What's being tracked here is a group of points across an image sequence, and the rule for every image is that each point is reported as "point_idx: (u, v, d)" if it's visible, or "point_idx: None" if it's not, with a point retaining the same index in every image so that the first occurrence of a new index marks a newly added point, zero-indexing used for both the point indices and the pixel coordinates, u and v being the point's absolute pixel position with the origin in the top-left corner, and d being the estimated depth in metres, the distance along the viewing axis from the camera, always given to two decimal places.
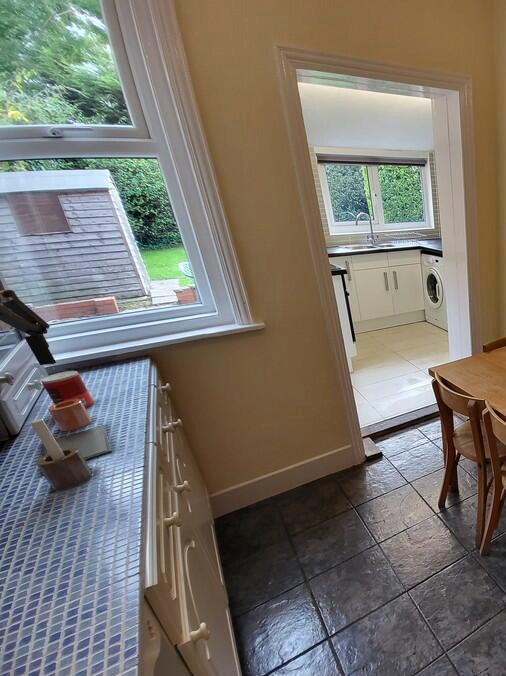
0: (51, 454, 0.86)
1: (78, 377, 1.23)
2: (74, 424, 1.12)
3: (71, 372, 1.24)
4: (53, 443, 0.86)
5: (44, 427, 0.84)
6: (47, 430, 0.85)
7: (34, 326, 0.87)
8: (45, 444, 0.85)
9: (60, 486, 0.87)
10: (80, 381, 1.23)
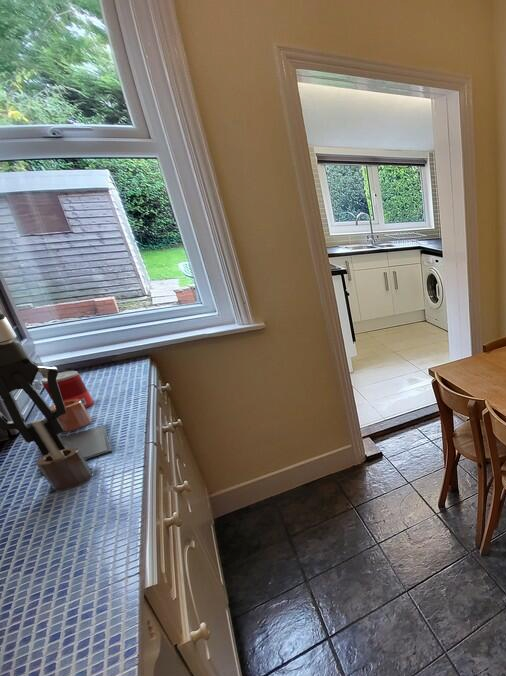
0: (51, 454, 0.86)
1: (78, 377, 1.23)
2: (74, 424, 1.12)
3: (71, 372, 1.24)
4: (53, 443, 0.86)
5: (44, 427, 0.84)
6: (47, 430, 0.85)
7: (48, 411, 0.84)
8: (45, 444, 0.85)
9: (60, 486, 0.87)
10: (80, 381, 1.23)
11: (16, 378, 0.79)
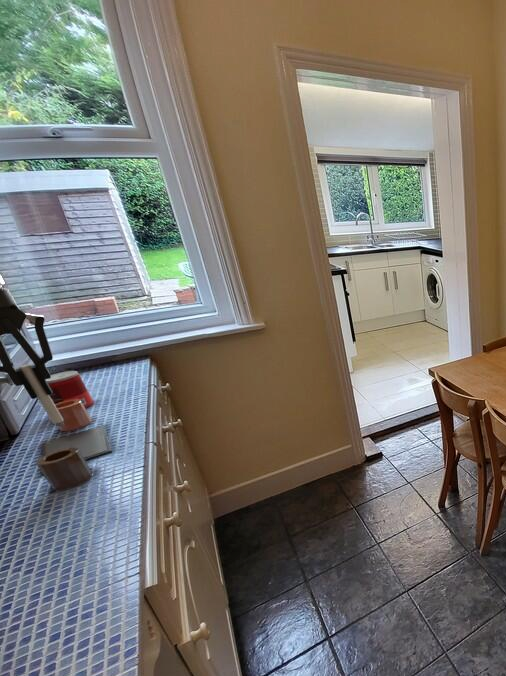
0: (39, 398, 0.91)
1: (78, 377, 1.23)
2: (74, 424, 1.12)
3: (71, 372, 1.24)
4: (41, 388, 0.91)
5: (32, 372, 0.90)
6: (35, 375, 0.90)
7: (35, 357, 0.89)
8: (33, 388, 0.90)
9: (60, 486, 0.87)
10: (80, 381, 1.23)
11: (5, 323, 0.84)
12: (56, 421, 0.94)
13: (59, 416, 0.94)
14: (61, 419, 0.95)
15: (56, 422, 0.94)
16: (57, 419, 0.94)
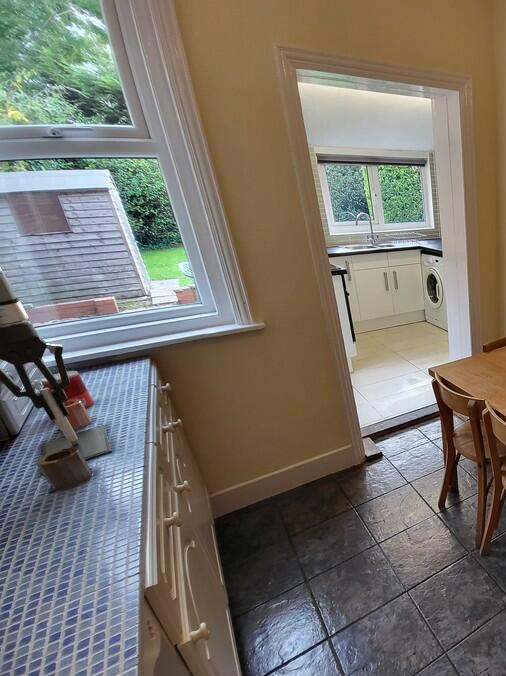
0: (56, 419, 1.00)
1: (78, 377, 1.23)
2: (74, 424, 1.12)
3: (71, 372, 1.24)
4: (58, 409, 1.00)
5: (50, 394, 0.99)
6: (53, 397, 0.99)
7: (54, 382, 0.98)
8: (51, 409, 0.99)
9: (60, 486, 0.87)
10: (80, 381, 1.23)
11: (28, 353, 0.94)
12: (71, 440, 1.02)
13: (74, 435, 1.03)
14: (76, 438, 1.03)
15: (71, 440, 1.02)
16: (72, 438, 1.02)
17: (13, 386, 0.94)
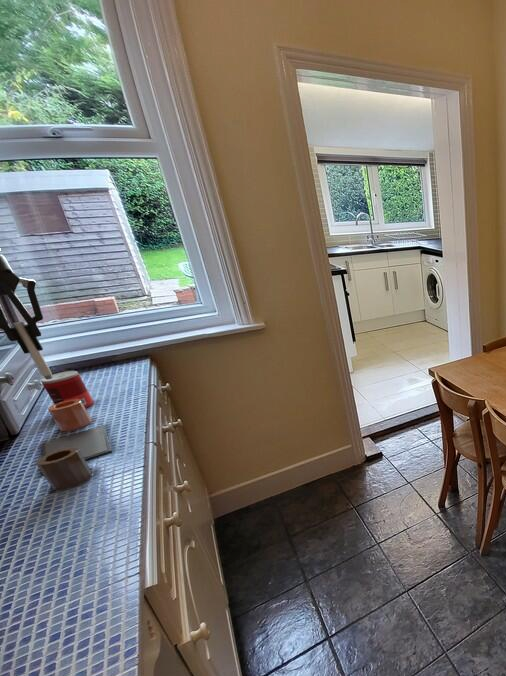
0: (30, 352, 1.03)
1: (78, 377, 1.23)
2: (74, 424, 1.12)
3: (71, 372, 1.24)
4: (32, 343, 1.03)
5: (24, 328, 1.02)
6: (26, 331, 1.03)
7: (28, 316, 1.02)
8: (25, 343, 1.03)
9: (60, 486, 0.87)
10: (80, 381, 1.23)
11: (1, 284, 0.97)
12: (45, 374, 1.06)
13: (48, 370, 1.06)
14: (49, 372, 1.06)
15: (45, 375, 1.06)
16: (46, 372, 1.06)
17: None
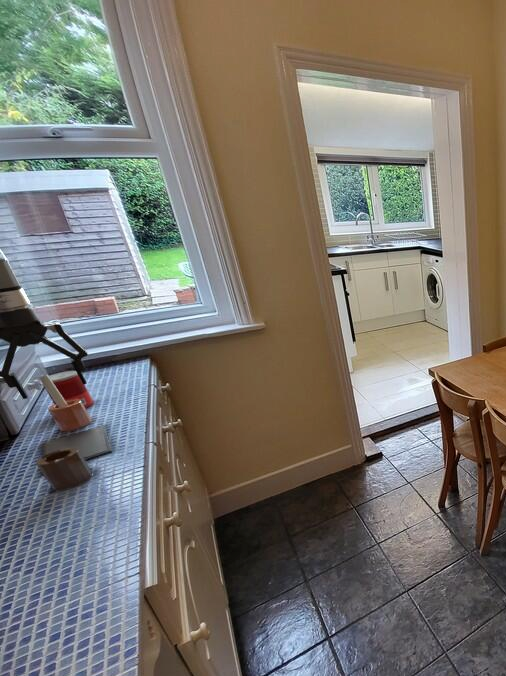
0: (56, 402, 1.11)
1: (78, 377, 1.23)
2: (74, 424, 1.12)
3: (71, 372, 1.24)
4: (57, 393, 1.11)
5: (49, 380, 1.10)
6: (51, 383, 1.10)
7: (71, 354, 1.09)
8: (51, 394, 1.10)
9: (60, 486, 0.87)
10: (80, 381, 1.23)
11: (31, 335, 1.03)
12: None
13: None
14: None
15: None
16: None
17: None
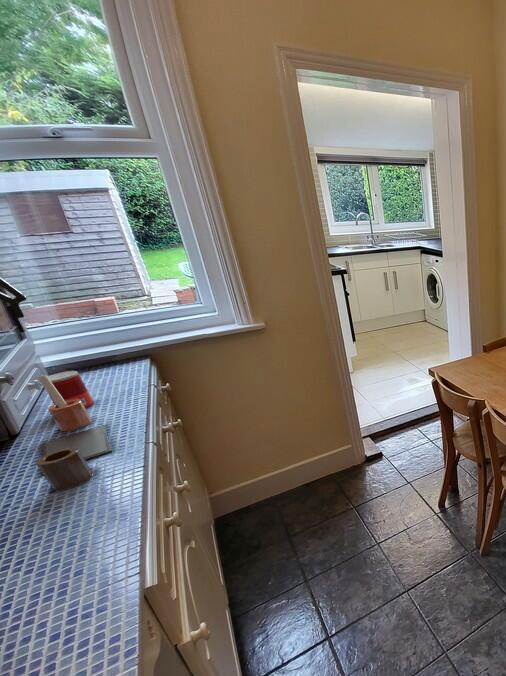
0: (56, 402, 1.11)
1: (78, 377, 1.23)
2: (74, 424, 1.12)
3: (71, 372, 1.24)
4: (56, 393, 1.11)
5: (48, 380, 1.10)
6: (50, 383, 1.10)
7: (5, 297, 0.97)
8: (50, 394, 1.10)
9: (60, 486, 0.87)
10: (80, 381, 1.23)
11: None
12: None
13: None
14: None
15: None
16: None
17: None
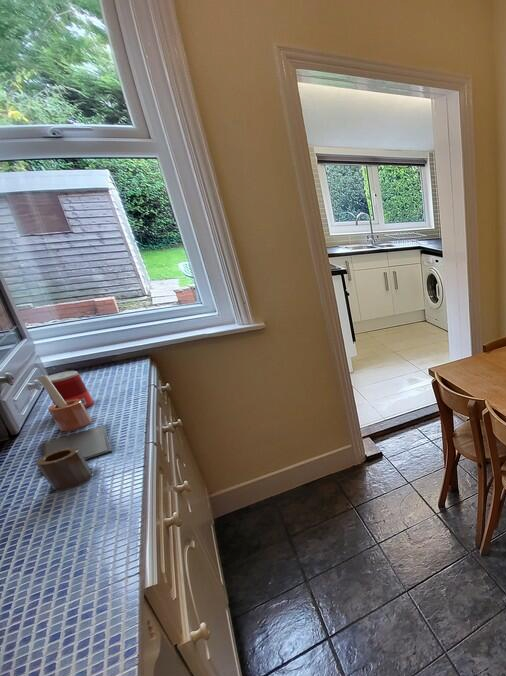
0: (56, 402, 1.11)
1: (78, 377, 1.23)
2: (74, 424, 1.12)
3: (71, 372, 1.24)
4: (56, 393, 1.11)
5: (48, 380, 1.10)
6: (50, 383, 1.10)
7: None
8: (50, 394, 1.10)
9: (60, 486, 0.87)
10: (80, 381, 1.23)
11: None
12: None
13: None
14: None
15: None
16: None
17: None
